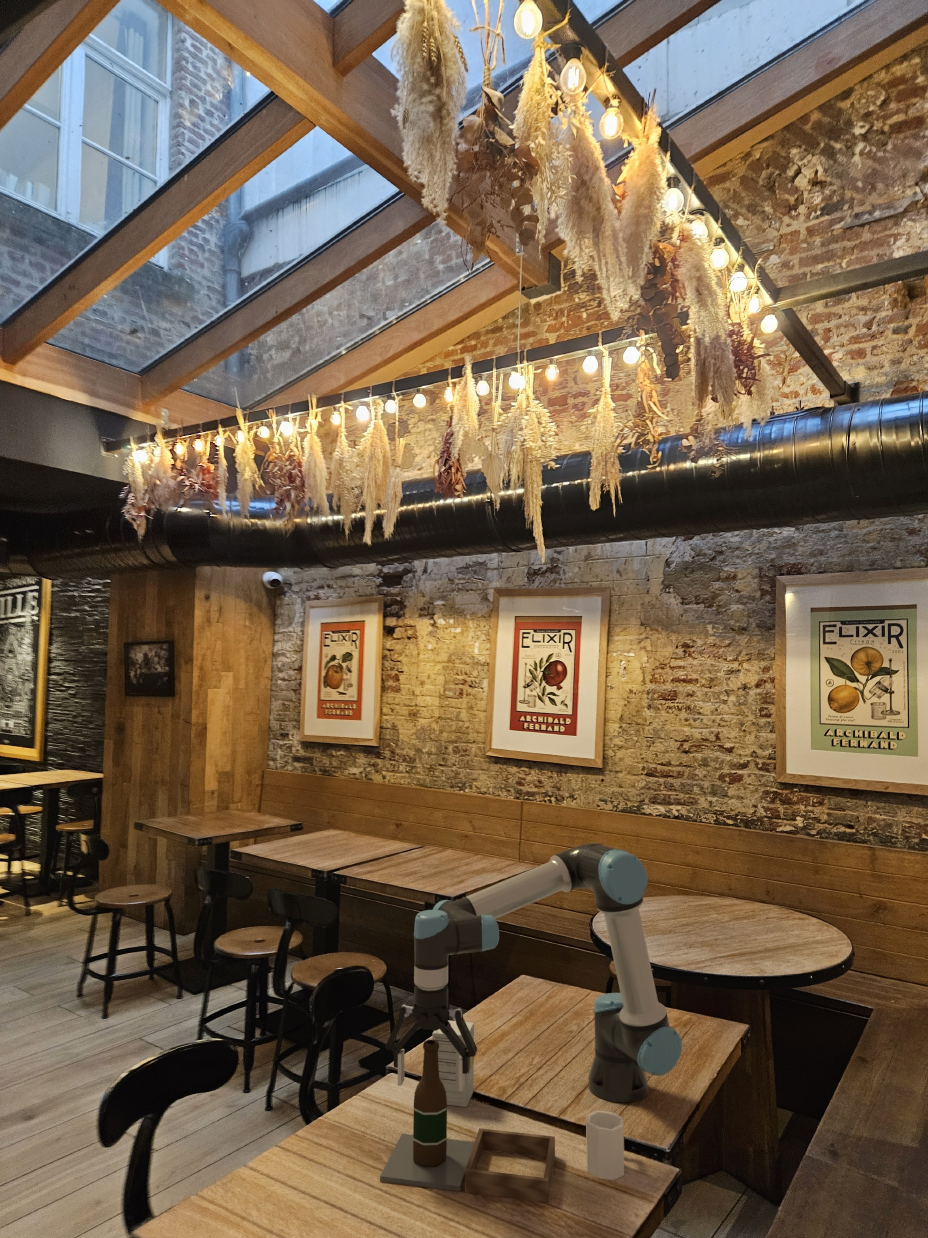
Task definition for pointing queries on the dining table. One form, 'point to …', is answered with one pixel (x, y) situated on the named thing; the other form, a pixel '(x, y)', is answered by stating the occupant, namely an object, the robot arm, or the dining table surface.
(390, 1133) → the dining table surface
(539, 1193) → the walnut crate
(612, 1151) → the mug
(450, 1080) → the supplement box
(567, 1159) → the dining table surface
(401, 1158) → the slate pad
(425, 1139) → the beer bottle
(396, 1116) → the dining table surface
